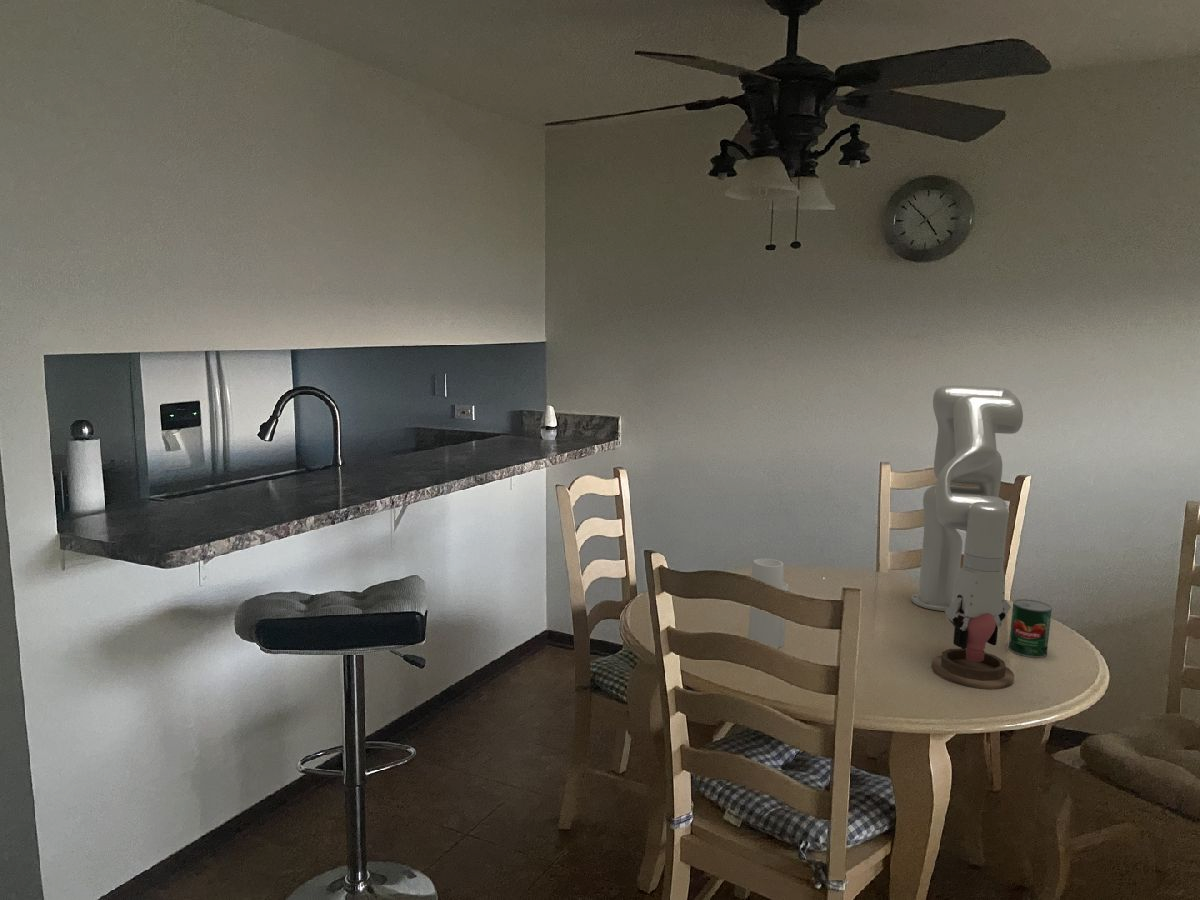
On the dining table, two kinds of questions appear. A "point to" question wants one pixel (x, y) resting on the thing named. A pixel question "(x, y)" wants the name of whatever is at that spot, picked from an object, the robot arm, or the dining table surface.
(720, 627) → the dining table surface
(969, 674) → the holder
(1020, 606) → the canned tomato
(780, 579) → the vase
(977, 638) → the light bulb
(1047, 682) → the dining table surface
